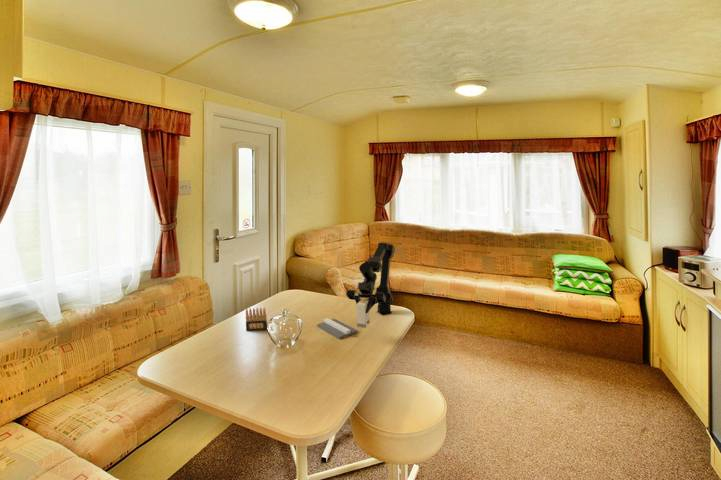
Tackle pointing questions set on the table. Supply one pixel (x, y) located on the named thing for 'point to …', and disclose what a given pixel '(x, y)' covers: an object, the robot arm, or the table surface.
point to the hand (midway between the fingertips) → (361, 312)
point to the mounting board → (336, 328)
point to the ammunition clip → (256, 320)
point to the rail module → (362, 313)
